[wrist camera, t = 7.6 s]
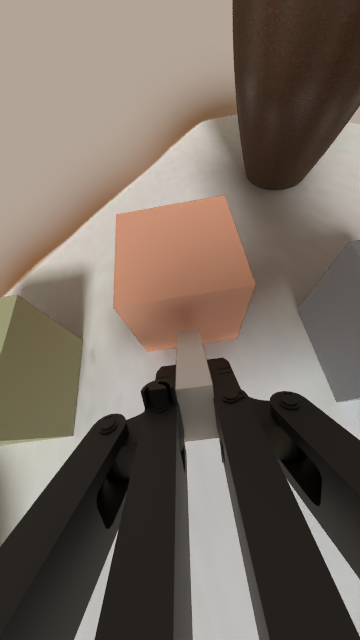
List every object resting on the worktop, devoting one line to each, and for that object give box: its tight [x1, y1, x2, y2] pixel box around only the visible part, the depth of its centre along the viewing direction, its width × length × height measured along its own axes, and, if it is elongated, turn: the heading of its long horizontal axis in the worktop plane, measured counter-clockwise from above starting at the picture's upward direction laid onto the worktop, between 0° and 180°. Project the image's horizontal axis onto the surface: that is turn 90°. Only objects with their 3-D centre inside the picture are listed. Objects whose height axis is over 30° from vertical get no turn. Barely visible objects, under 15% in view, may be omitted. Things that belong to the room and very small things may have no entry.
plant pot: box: [233, 0, 360, 190], centre depth 21 cm, size 15×15×16 cm
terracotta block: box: [113, 195, 256, 352], centre depth 17 cm, size 8×8×8 cm
